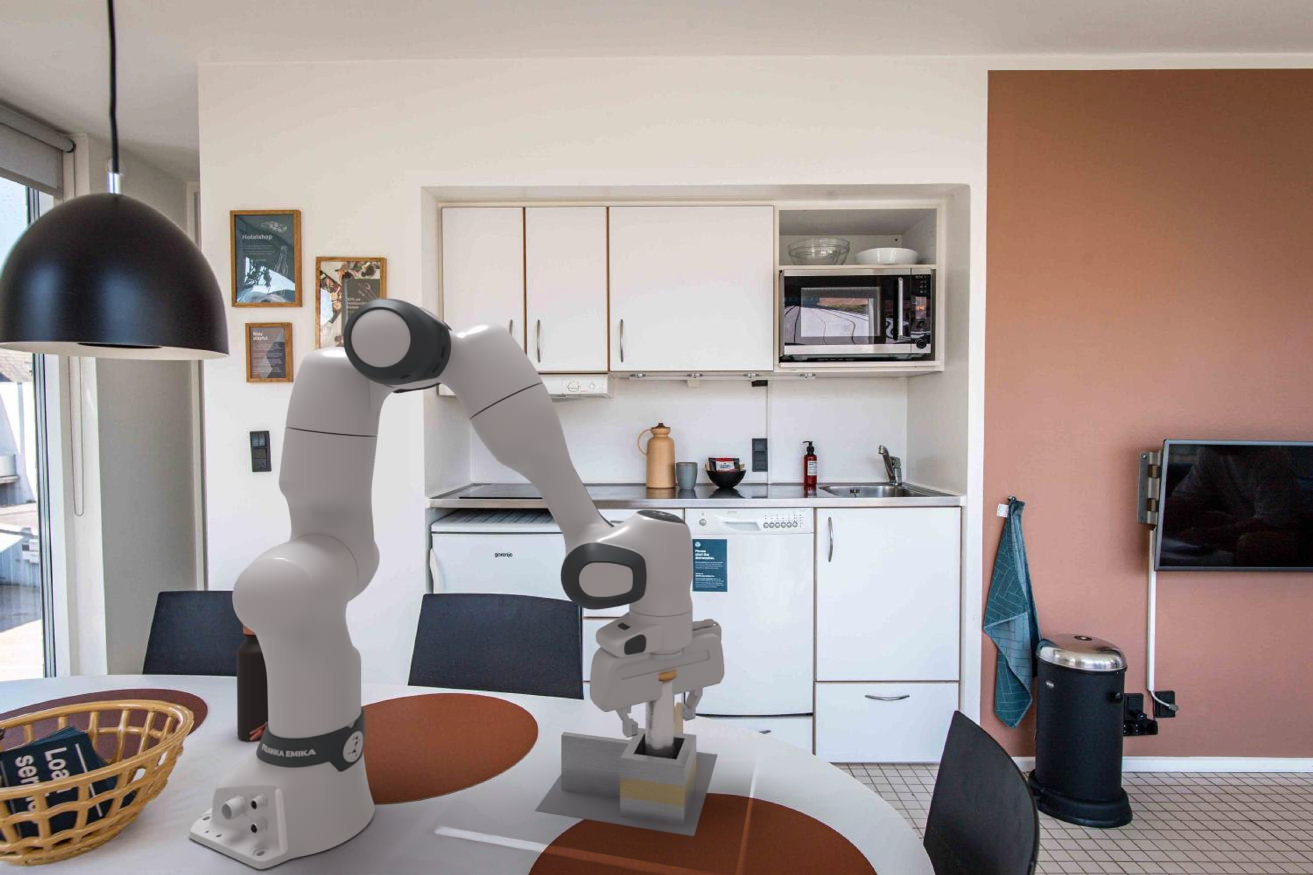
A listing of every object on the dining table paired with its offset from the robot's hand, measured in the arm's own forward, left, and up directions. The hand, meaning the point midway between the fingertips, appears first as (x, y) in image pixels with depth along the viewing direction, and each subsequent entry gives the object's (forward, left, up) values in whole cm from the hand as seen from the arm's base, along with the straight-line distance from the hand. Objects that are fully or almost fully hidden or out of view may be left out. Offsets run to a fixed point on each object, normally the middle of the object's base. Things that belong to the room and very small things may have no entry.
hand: (659, 726), depth 90 cm
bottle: (-72, +5, -12) cm, 73 cm away
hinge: (-5, +5, -11) cm, 13 cm away
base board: (-5, +5, -12) cm, 14 cm away
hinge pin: (0, 0, -11) cm, 11 cm away
